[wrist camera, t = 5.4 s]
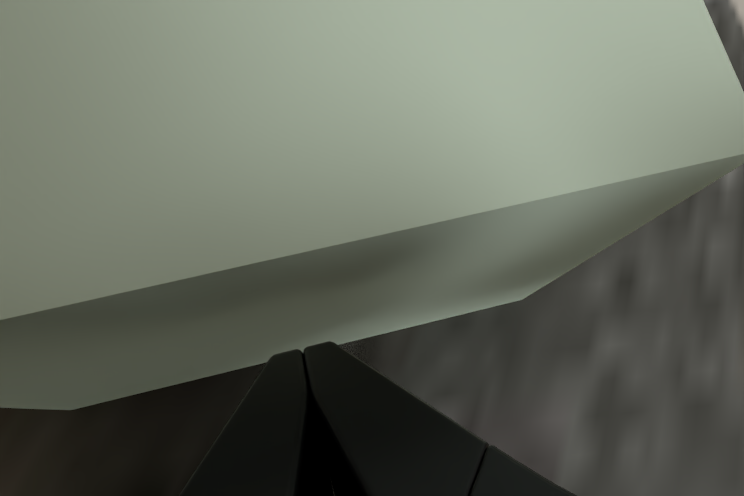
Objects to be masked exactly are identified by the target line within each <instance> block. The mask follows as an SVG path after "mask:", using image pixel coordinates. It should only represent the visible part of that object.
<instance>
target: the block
mask: <svg viewBox="0 0 744 496" xmlns="http://www.w3.org/2000/svg"><path fill="white" fill-rule="evenodd" d="M742 164H744V92H743V90H742V87H741V85H740V83H739V81H738V78H737V76H736V74H735V72H734V69H733V67H732V65H731V63H730V60H729V58H728V56H727V53H726V51H725V49H724V47H723V44H722V42H721V40H720V38H719V35H718V33H717V31H716V29H715V26H714V24H713V22H712V19H711V17H710V15H709V13H708V10H707V8H706V6H705V4H704V1H703V0H0V408H22V409H50V410H74V409H78V408H82V407H86V406H90V405H94V404H98V403H102V402H107V401H111V400H115V399H119V398H123V397H127V396H131V395H135V394H139V393H143V392H147V391H151V390H156V389H160V388H164V387H168V386H172V385H176V384H180V383H184V382H188V381H192V380H196V379H200V378H204V377H209V376H213V375H217V374H221V373H225V372H229V371H233V370H237V369H241V368H245V367H249V366H253V365H258V364H262V363H266V362H268V360H269V359H270V357H272V356H273V355H274V354H278V353H282V352H286V351H290V350H294V349H299V350H301V351H302V353H303V351H304V349H305V348H306V347H307V346H311V345H315V344H319V343H323V342H327V341H331V342H334V343H336V344H337V345H339V344H343V343H347V342H351V341H355V340H360V339H364V338H368V337H372V336H376V335H380V334H384V333H388V332H392V331H396V330H400V329H404V328H409V327H413V326H417V325H421V324H425V323H429V322H433V321H437V320H441V319H445V318H449V317H453V316H458V315H462V314H466V313H470V312H474V311H478V310H482V309H486V308H490V307H494V306H498V305H502V304H506V303H511V302H515V301H519V300H522V299H524V298H526V297H527V296H529V295H530V294H532V293H534V292H535V291H537V290H539V289H540V288H542V287H543V286H545V285H547V284H548V283H550V282H552V281H553V280H555V279H557V278H558V277H560V276H561V275H563V274H565V273H566V272H568V271H570V270H571V269H573V268H574V267H576V266H578V265H579V264H581V263H583V262H584V261H586V260H587V259H589V258H591V257H592V256H594V255H596V254H597V253H599V252H600V251H602V250H604V249H605V248H607V247H609V246H610V245H612V244H613V243H615V242H617V241H618V240H620V239H622V238H623V237H625V236H626V235H628V234H630V233H631V232H633V231H635V230H636V229H638V228H640V227H641V226H643V225H644V224H646V223H648V222H649V221H651V220H653V219H654V218H656V217H657V216H659V215H661V214H662V213H664V212H666V211H667V210H669V209H670V208H672V207H674V206H675V205H677V204H679V203H680V202H682V201H683V200H685V199H687V198H688V197H690V196H692V195H693V194H695V193H696V192H698V191H700V190H701V189H703V188H705V187H706V186H708V185H709V184H711V183H713V182H714V181H716V180H718V179H719V178H721V177H723V176H724V175H726V174H727V173H729V172H731V171H732V170H734V169H736V168H737V167H739V166H740V165H742Z"/></svg>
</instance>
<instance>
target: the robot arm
mask: <svg viewBox="0 0 744 496" xmlns="http://www.w3.org/2000/svg"><path fill="white" fill-rule="evenodd" d="M303 355H304V356H303ZM330 477H331V478H330ZM331 481H332V483H331ZM332 485H333V488H332ZM333 489H334V493H335V496H576V495H574V494H573V493H571V492H569V491H567V490H565V489H563V488H561V487H560V486H558V485H556V484H554V483H553V482H551V481H549V480H548V479H546V478H544V477H543V476H541V475H539V474H538V473H536V472H534V471H533V470H531V469H530V468H528V467H526V466H525V465H523V464H521V463H520V462H518V461H516V460H515V459H513V458H512V457H510V456H509V455H507V454H506V453H504V452H503V451H501V450H500V449H498V448H496V447H495V446H493V445H491V446H489V444H488V443H487V442H485V441H484V440H482V439H481V438H479V437H478V436H476V435H475V434H473V433H472V432H470V431H469V430H467V429H466V428H464V427H462V426H461V425H459V424H458V423H456V422H455V421H453V420H452V419H450V418H449V417H447V416H446V415H444V414H443V413H441V412H440V411H438V410H437V409H435V408H433V407H432V406H430V405H429V404H427V403H426V402H424V401H423V400H421V399H420V398H418V397H417V396H415V395H414V394H412V393H411V392H409V391H407V390H406V389H404V388H403V387H401V386H400V385H398V384H397V383H395V382H394V381H392V380H391V379H389V378H388V377H386V376H385V375H383V374H382V373H380V372H378V371H377V370H375V369H374V368H372V367H371V366H369V365H368V364H366V363H365V362H363V361H362V360H360V359H359V358H357V357H356V356H354V355H352V354H351V353H349V352H348V351H346V350H345V349H343V348H342V347H340V346H339V345H337V344H336V343H334V342H331V341H327V342H323V343H319V344H315V345H311V346H307V347H306V348H305V349H304V351H303V353H302V351H301V350H299V349H294V350H290V351H286V352H282V353H278V354H274V355H273V356H272V357H270V359H269V360H268V362H267V363H266V365H265V366H264V368H263V369H262V371H261V372H260V374H259V375H258V377H257V378H256V380H255V381H254V383H253V384H252V386H251V387H250V389H249V390H248V392H247V393H246V395H245V396H244V398H243V399H242V401H241V402H240V404H239V405H238V407H237V408H236V410H235V411H234V413H233V414H232V416H231V417H230V419H229V420H228V422H227V423H226V425H225V426H224V428H223V429H222V431H221V432H220V434H219V436H218V437H217V439H216V440H215V442H214V443H213V445H212V446H211V448H210V449H209V451H208V452H207V454H206V455H205V457H204V458H203V460H202V461H201V463H200V464H199V466H198V467H197V469H196V470H195V472H194V473H193V475H192V476H191V478H190V479H189V481H188V482H187V484H186V485H185V487H184V488H183V490H182V491H181V493H180V494H179V496H334V494H333Z"/></svg>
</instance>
